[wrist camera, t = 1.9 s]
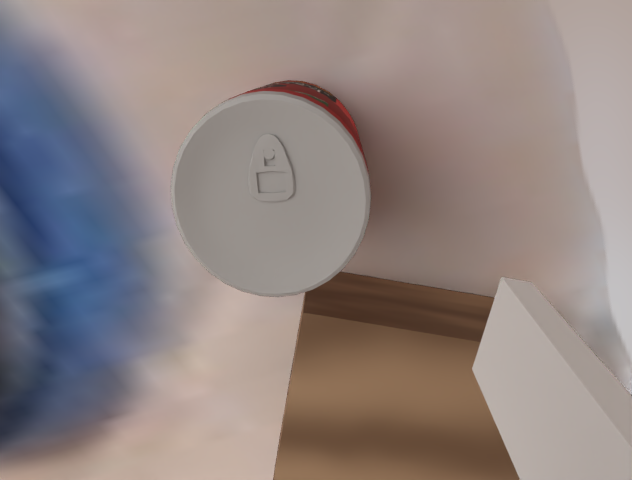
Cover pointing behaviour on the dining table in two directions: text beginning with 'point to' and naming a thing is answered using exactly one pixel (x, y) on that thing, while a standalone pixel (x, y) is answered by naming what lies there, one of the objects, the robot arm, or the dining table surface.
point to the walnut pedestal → (389, 387)
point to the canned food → (273, 189)
